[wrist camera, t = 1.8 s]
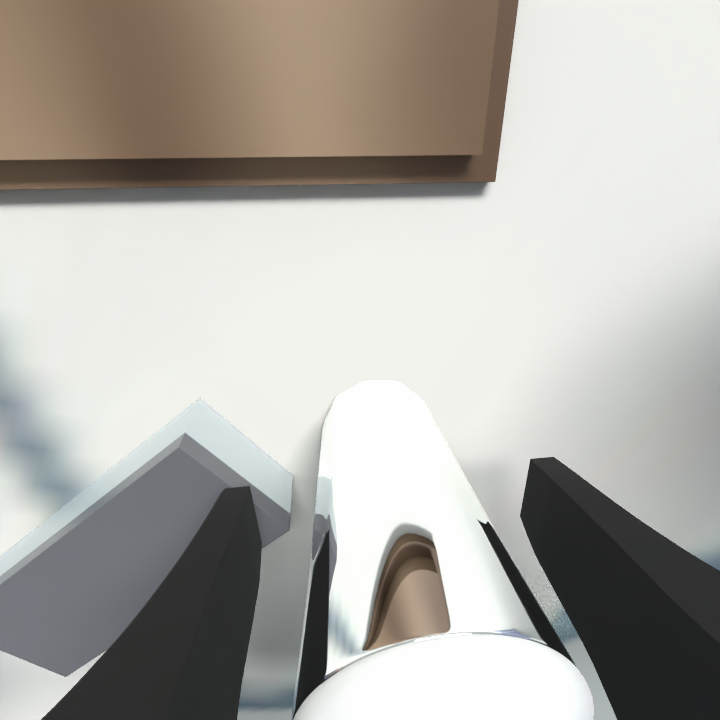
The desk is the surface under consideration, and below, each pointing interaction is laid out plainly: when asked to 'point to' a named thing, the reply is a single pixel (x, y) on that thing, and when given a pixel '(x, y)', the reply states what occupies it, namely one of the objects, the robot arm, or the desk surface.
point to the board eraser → (129, 538)
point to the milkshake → (417, 584)
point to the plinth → (251, 92)
